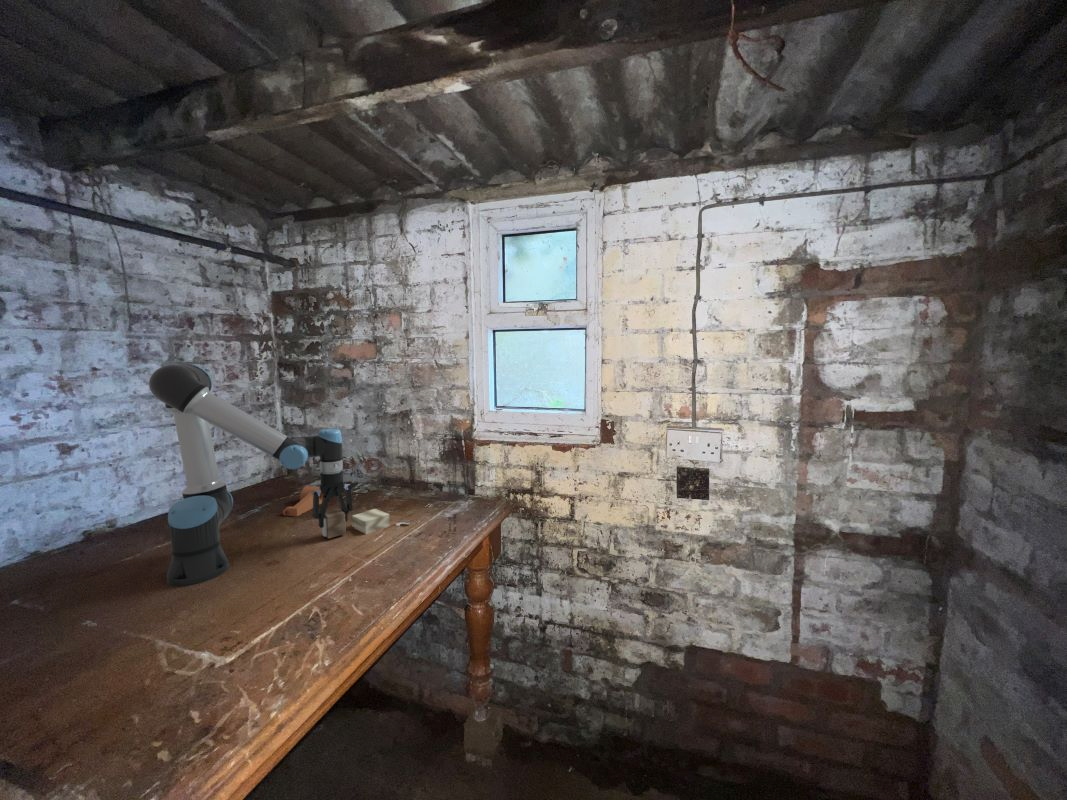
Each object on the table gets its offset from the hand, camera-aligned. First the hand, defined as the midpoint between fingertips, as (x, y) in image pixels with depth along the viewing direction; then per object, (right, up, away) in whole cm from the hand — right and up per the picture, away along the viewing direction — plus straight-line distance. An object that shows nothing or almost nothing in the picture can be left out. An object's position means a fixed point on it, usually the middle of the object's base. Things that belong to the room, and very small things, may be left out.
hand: (333, 532), depth 158 cm
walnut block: (0, 0, 0) cm, 0 cm away
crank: (-26, +1, +29) cm, 39 cm away
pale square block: (+10, -1, +9) cm, 14 cm away
